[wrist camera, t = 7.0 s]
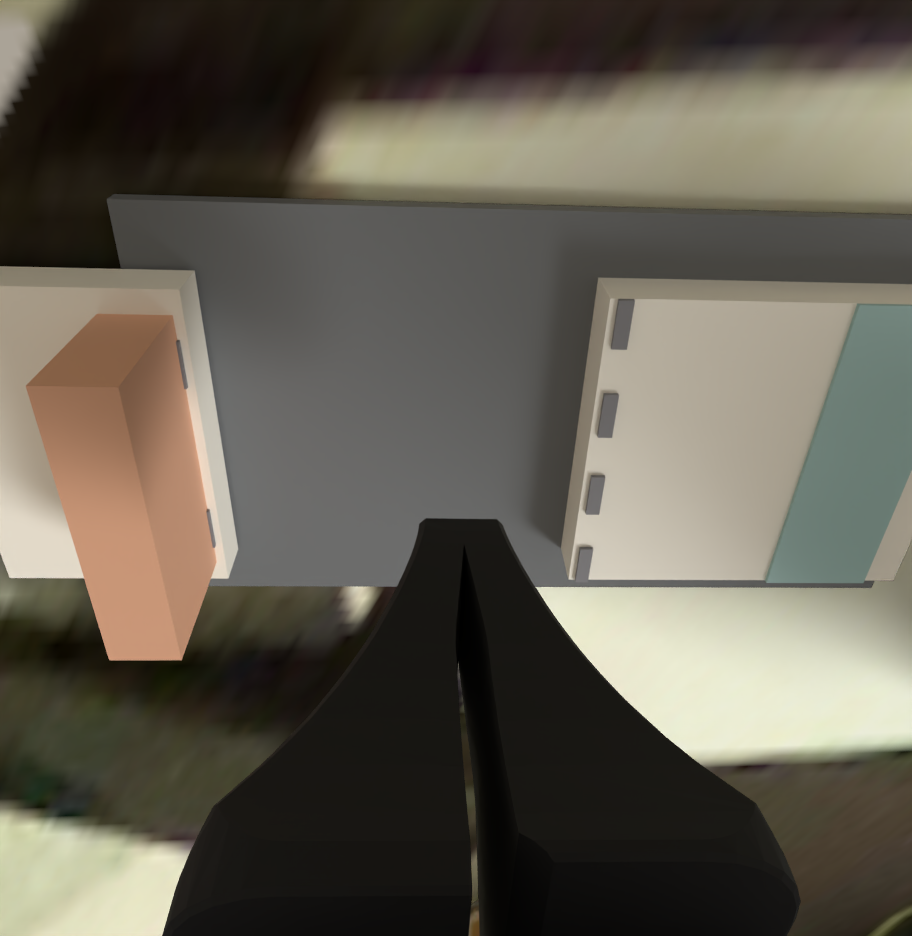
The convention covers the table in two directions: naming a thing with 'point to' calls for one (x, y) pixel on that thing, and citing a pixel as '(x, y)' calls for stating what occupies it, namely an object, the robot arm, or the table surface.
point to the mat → (436, 356)
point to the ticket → (743, 433)
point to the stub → (113, 448)
